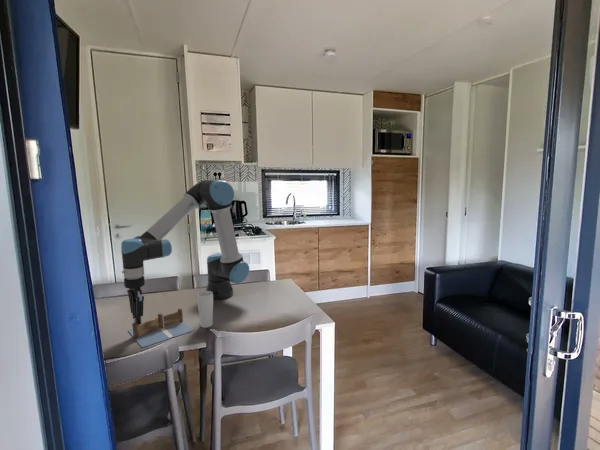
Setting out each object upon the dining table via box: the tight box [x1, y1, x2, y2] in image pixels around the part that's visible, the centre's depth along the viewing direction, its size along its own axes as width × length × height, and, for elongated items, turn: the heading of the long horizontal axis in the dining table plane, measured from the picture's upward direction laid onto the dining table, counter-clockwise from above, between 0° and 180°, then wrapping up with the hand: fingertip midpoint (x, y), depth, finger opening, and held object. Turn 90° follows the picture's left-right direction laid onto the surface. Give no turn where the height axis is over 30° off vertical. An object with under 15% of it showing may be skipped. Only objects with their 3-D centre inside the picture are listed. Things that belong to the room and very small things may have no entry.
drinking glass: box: [196, 290, 214, 329], centre depth 147 cm, size 7×7×15 cm
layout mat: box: [127, 319, 194, 349], centre depth 143 cm, size 19×21×1 cm
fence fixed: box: [163, 307, 184, 327], centre depth 148 cm, size 2×8×6 cm, turn 132°
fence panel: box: [132, 313, 164, 339], centre depth 140 cm, size 13×2×6 cm, turn 144°
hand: (138, 330), depth 139 cm, fingers closed
